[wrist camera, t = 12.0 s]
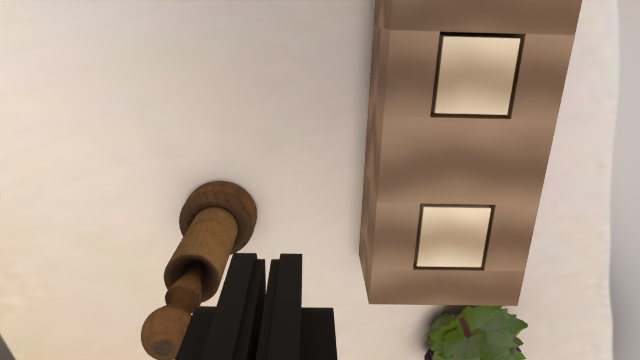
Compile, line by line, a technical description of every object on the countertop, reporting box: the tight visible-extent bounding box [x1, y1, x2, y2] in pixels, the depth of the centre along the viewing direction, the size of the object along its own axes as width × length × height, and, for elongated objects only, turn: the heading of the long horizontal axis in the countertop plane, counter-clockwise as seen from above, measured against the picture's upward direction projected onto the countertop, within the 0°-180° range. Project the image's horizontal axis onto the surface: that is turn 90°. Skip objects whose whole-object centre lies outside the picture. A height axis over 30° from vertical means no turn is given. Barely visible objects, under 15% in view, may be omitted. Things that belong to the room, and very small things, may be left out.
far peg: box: [414, 203, 491, 267], centre depth 38 cm, size 5×5×8 cm
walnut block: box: [359, 0, 582, 306], centre depth 36 cm, size 24×12×8 cm, turn 178°
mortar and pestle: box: [141, 182, 257, 360], centre depth 34 cm, size 7×6×18 cm
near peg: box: [431, 32, 520, 115], centre depth 34 cm, size 5×5×8 cm
